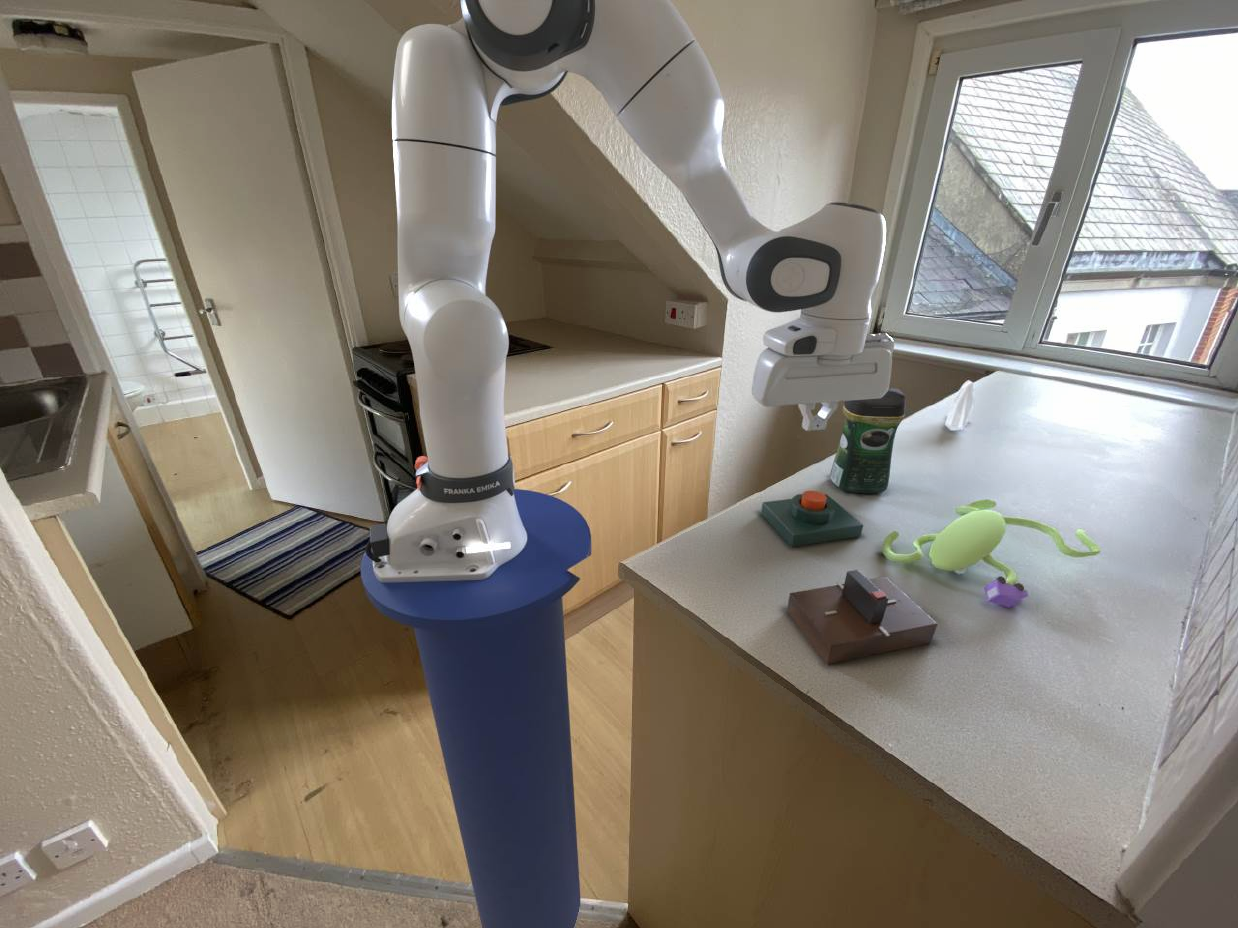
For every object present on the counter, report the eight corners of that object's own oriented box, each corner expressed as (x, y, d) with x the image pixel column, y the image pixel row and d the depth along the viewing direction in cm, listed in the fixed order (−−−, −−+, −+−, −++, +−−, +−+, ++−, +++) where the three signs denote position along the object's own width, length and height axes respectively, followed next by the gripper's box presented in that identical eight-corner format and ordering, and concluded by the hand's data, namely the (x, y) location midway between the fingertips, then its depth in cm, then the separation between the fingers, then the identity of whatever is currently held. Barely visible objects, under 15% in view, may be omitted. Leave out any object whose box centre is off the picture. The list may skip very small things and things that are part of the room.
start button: (808, 512, 82) (810, 503, 82) (796, 501, 85) (798, 491, 85) (829, 509, 83) (831, 500, 82) (816, 498, 86) (818, 489, 85)
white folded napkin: (962, 436, 118) (977, 389, 113) (941, 432, 120) (955, 385, 116) (969, 420, 127) (983, 375, 122) (949, 416, 129) (962, 372, 124)
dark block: (841, 593, 66) (847, 569, 64) (852, 591, 66) (858, 567, 65) (870, 624, 61) (877, 599, 60) (882, 621, 62) (889, 596, 60)
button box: (791, 547, 80) (795, 524, 78) (760, 513, 89) (763, 492, 87) (860, 536, 83) (866, 514, 81) (824, 504, 92) (828, 484, 90)
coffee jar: (876, 476, 101) (899, 382, 93) (891, 496, 94) (917, 397, 86) (824, 473, 102) (842, 381, 94) (835, 494, 95) (855, 395, 87)
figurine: (1104, 569, 75) (1121, 536, 73) (991, 630, 65) (1006, 594, 62) (976, 509, 90) (986, 480, 88) (866, 550, 79) (874, 519, 77)
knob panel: (828, 667, 60) (833, 646, 58) (784, 609, 68) (788, 590, 67) (933, 645, 63) (940, 624, 61) (879, 592, 71) (884, 573, 70)
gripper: (881, 328, 77) (861, 416, 83) (753, 333, 73) (741, 426, 79) (912, 337, 72) (888, 431, 78) (775, 343, 67) (761, 443, 73)
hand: (813, 429), depth 78 cm, fingers closed
